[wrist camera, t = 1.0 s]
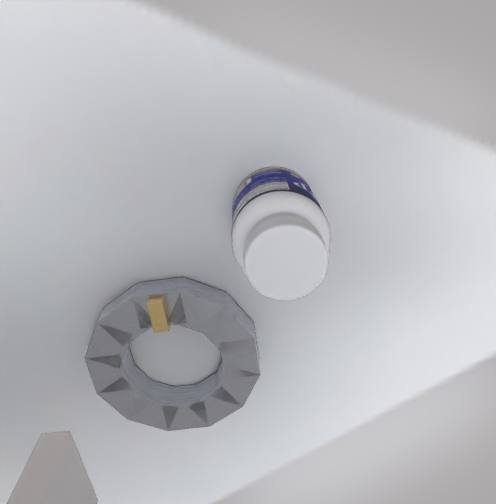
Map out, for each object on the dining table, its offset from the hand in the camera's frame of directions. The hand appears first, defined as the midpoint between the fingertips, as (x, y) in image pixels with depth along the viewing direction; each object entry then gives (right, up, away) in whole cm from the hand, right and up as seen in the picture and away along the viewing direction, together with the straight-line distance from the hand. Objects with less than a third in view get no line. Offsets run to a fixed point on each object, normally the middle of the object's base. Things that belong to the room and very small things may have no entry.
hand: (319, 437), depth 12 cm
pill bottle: (0, +8, +17) cm, 19 cm away
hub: (-7, -2, +21) cm, 22 cm away
